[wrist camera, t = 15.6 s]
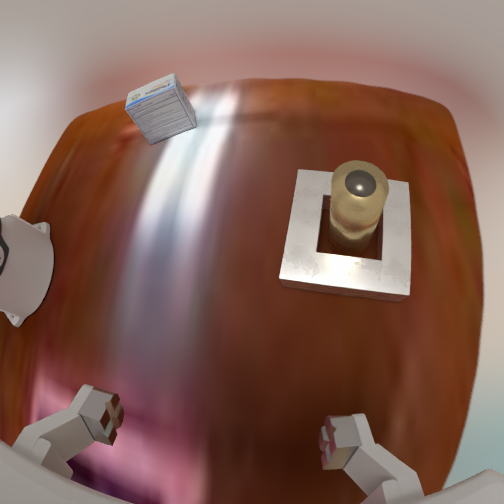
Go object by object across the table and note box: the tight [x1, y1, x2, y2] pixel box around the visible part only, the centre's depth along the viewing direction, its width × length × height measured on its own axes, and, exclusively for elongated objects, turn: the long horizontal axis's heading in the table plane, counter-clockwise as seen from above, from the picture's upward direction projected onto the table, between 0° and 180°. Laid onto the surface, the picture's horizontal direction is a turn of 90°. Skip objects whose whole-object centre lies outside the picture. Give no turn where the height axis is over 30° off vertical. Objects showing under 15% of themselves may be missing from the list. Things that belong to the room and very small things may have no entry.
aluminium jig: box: [279, 169, 411, 302], centre depth 27 cm, size 12×12×3 cm
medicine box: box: [125, 73, 196, 145], centre depth 37 cm, size 8×4×9 cm, turn 103°
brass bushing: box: [328, 161, 389, 258], centre depth 24 cm, size 4×4×10 cm
